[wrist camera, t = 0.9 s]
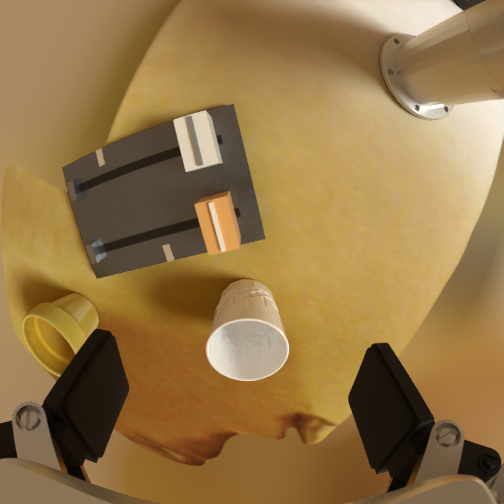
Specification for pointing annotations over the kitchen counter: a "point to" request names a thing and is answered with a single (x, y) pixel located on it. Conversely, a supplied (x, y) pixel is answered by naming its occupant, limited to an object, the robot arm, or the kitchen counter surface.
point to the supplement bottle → (467, 3)
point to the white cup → (247, 333)
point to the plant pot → (59, 330)
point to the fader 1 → (197, 141)
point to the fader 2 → (218, 223)
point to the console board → (156, 196)
